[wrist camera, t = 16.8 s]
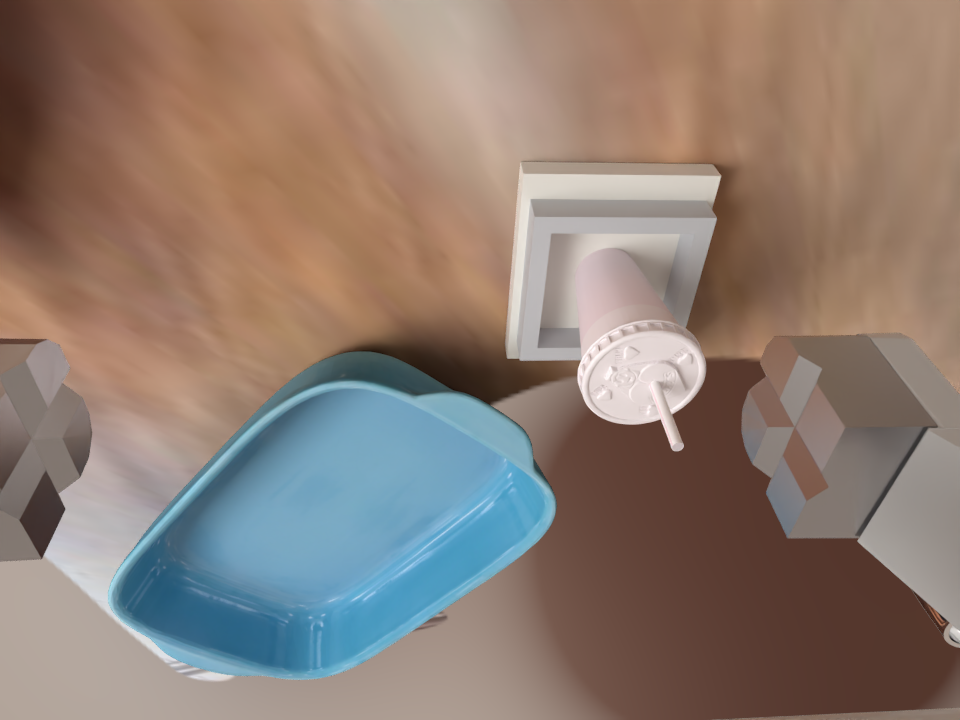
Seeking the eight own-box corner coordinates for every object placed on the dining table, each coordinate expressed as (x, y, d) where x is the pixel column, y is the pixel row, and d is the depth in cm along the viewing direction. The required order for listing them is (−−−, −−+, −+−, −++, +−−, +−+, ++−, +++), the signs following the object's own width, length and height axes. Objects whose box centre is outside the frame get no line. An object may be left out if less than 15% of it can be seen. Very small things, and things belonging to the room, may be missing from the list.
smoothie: (629, 326, 46) (693, 499, 36) (536, 304, 45) (574, 478, 34) (677, 242, 42) (765, 408, 32) (577, 215, 41) (635, 380, 30)
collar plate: (712, 164, 41) (739, 201, 38) (665, 343, 49) (683, 387, 46) (520, 161, 40) (530, 200, 37) (505, 344, 48) (511, 389, 45)
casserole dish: (357, 257, 44) (349, 329, 38) (600, 421, 54) (620, 496, 49) (91, 549, 60) (59, 629, 54) (318, 631, 70) (310, 705, 65)
